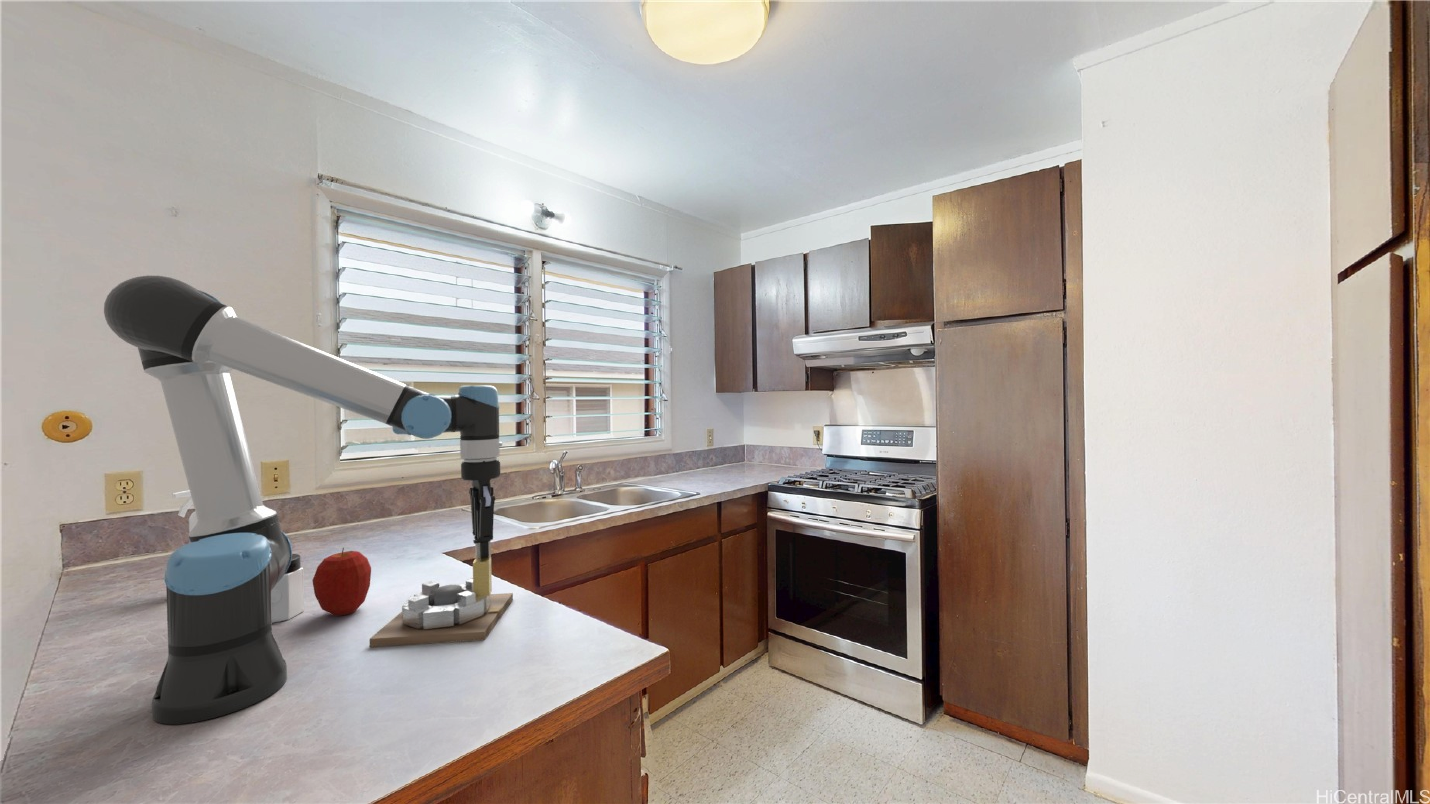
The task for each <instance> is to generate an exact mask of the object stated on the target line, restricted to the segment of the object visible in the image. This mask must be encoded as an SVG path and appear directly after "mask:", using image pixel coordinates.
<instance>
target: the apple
mask: <svg viewBox="0 0 1430 804" xmlns="http://www.w3.org/2000/svg"><path fill="white" fill-rule="evenodd" d="M371 576H372V567H371V564H370V561H369V559H368V558H367V557H366V556H365V555H364V554H363V553H361V552H360V551H357V550H348V551H344V547H342V551H341V552H338V553H335V554H332V555H330V556H327V557H325V558H323V560H322V561H321V562H320V563H319V564H318V566H317V567H316V570H315V574H314V576H313V578H312V587H313V592H314V597H315V598H316V600H317V602H318V604H319V606H320V608H321V610H322V611H324V612H326V613H329V614H330V615H332V616H334V617H335V616H336V617H338V616H339V617H340V616H346V615H350V614H353V613H355V612H356V611H357V610H358V609H359V608H360V607H361V605H363V604H364V603H365V601H366V599H367V596H368V595H367V594H368V592H369V589H370V587H371V578H372V577H371Z"/></svg>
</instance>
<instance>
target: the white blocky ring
mask: <svg viewBox="0 0 1430 804" xmlns="http://www.w3.org/2000/svg"><path fill="white" fill-rule="evenodd" d="M492 583H493V581H492V556H491V557H487V558H476V557H475V558H474V560H473V562H472V578H470V579H468V580H467V579H466V580H465V583H462V584H461V583H460V584H458V585H460V586H462V592H461V593H459V594H457V603H455V604H451V605H441V606H434V590H435V589H437V588H439V587H440V582H436V581H433V580H430V581H426V582H424V583H421V592H419V593H418V592H417V593H415V594H413V596H410V597H408V598H407V600H406V601H405V602H404V604H403V605H402V606H401V612H402V622H403V623H404V624H406V625H409V626H412V627H415V628H417V629H420V628H422V627H424V629H430V628H439V627H449V626H454V625H455V623H456V624H459V625H460V624H462V623H465V622H467V621H470V620H472V619H475V618H477V617H480V616H482V615H484V613H487V611H488V609H489V606H490V604H491V594H492V590H493V588H492V586H493V585H492Z"/></svg>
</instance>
